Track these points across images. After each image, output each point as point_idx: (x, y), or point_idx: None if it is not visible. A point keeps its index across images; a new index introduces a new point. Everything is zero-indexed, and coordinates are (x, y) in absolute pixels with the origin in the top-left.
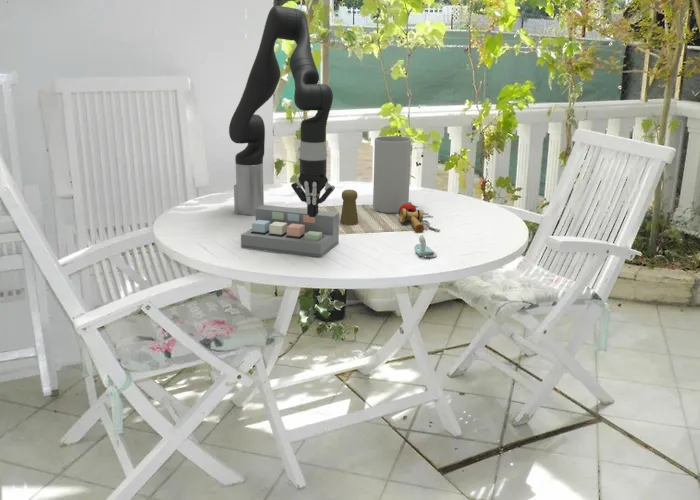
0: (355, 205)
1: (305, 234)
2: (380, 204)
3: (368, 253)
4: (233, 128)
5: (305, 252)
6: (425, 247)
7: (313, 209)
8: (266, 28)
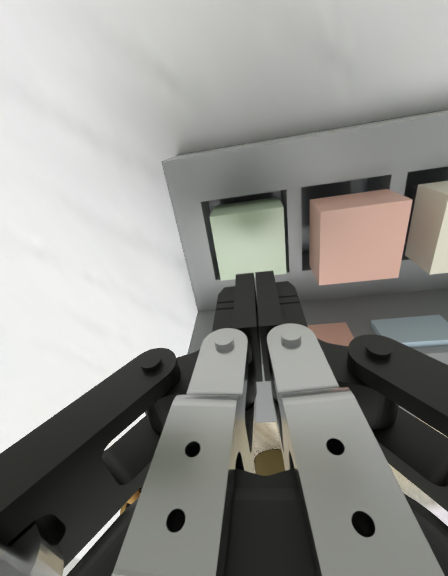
0: None
1: (278, 211)
2: None
3: (75, 285)
4: None
5: (246, 144)
6: None
7: (236, 304)
8: None
